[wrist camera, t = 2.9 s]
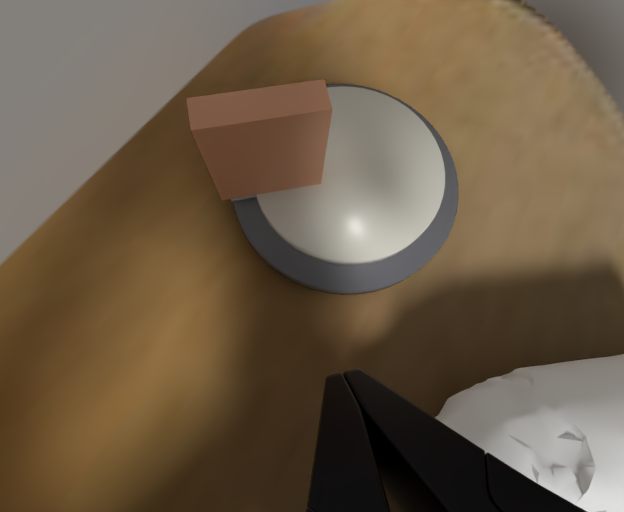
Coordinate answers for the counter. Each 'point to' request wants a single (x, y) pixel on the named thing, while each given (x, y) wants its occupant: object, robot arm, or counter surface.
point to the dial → (324, 166)
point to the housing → (359, 276)
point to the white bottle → (553, 427)
